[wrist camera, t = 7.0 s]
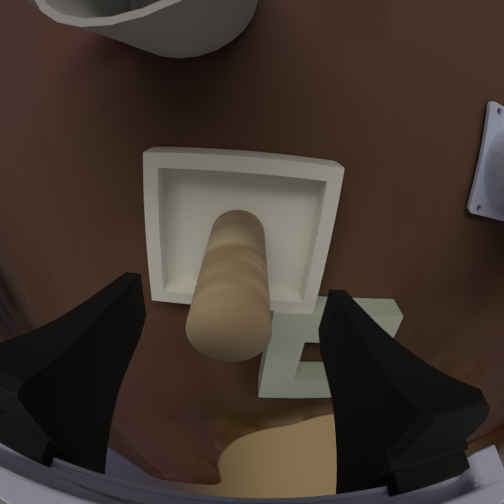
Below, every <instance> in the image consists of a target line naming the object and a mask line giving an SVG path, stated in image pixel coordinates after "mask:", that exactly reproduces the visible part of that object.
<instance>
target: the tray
mask: <svg viewBox="0 0 504 504" xmlns="http://www.w3.org/2000/svg"><path fill="white" fill-rule="evenodd" d="M344 169H345V168H344V167H342V166H341V165H340V164H339V163H337V162H336V161H332V160H325V159H318V158H311V157H303V156H295V155H286V154H277V153H267V152H256V151H244V150H230V149H214V148H193V147H152V148H150V149H148V150H147V151H145V152H143V183H144V210H145V228H146V243H147V255H148V266H149V276H150V286H151V295H152V300H155V301H164V302H173V303H183V304H191V302H192V299H193V295H194V291H195V287H196V284H197V280H198V276H199V272H200V269H201V265H202V262H203V258H204V254H205V251H206V247H207V244H208V240H209V237H210V233H211V230H212V227H213V224H214V222H215V221H216V219H217V218H218V217H219V216H220V215H222V214H223V213H225V212H227V211H231V210H244V211H248V212H250V213H252V214H253V215H255V216H256V217H257V218H258V219H259V220H260V222H261V223H262V225H263V228H264V235H265V247H266V259H267V271H268V284H269V297H270V310H271V311H286V312H306V313H313V312H314V308H315V304H316V300H317V296H318V292H319V288H320V284H321V280H322V276H323V272H324V267H325V263H326V259H327V254H328V250H329V245H330V241H331V236H332V232H333V227H334V222H335V217H336V212H337V207H338V202H339V197H340V191H341V186H342V180H343V175H344Z"/></svg>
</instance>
